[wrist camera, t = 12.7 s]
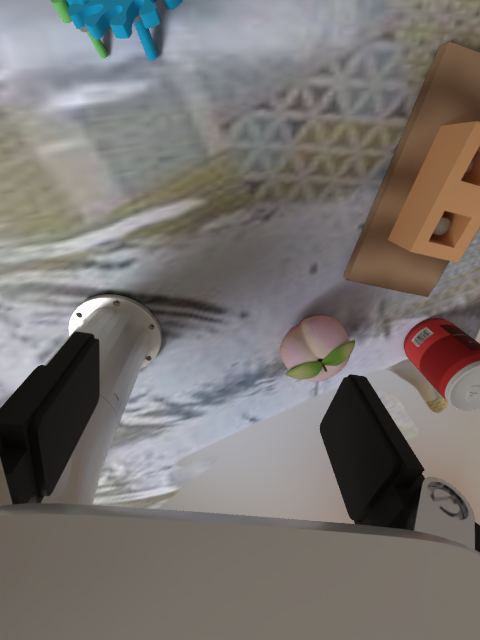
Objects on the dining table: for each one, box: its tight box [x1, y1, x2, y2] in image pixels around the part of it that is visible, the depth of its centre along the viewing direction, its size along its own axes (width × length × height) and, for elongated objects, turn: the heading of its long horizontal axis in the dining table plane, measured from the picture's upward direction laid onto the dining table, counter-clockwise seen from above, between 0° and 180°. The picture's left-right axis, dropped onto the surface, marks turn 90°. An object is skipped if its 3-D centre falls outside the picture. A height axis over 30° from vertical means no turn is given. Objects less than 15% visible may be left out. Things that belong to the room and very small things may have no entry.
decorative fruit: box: [280, 315, 355, 381], centre depth 39 cm, size 9×8×10 cm
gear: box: [51, 0, 182, 60], centre depth 25 cm, size 11×6×10 cm
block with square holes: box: [388, 121, 480, 263], centre depth 31 cm, size 12×6×5 cm, turn 167°
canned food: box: [404, 318, 480, 411], centre depth 41 cm, size 8×8×11 cm
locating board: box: [343, 42, 480, 297], centre depth 33 cm, size 24×12×5 cm, turn 167°
